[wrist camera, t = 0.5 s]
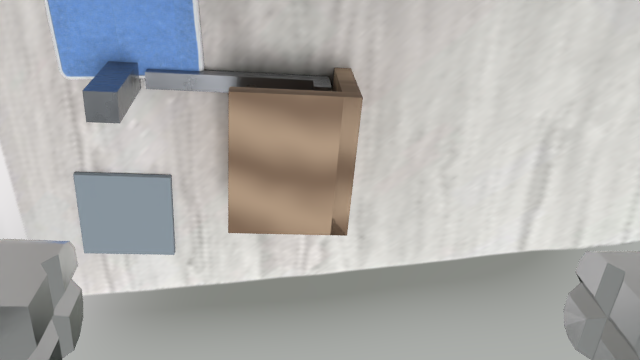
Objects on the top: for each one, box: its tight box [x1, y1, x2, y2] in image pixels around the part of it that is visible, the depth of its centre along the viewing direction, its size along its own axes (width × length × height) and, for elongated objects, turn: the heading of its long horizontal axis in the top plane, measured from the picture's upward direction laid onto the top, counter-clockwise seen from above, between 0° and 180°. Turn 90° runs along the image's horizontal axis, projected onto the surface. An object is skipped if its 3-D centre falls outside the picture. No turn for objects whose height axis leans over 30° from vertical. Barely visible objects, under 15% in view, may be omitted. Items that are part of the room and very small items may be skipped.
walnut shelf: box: [228, 68, 363, 235], centre depth 51 cm, size 13×10×8 cm
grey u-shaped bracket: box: [83, 61, 332, 123], centre depth 50 cm, size 12×19×8 cm, turn 86°
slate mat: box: [73, 172, 175, 255], centre depth 57 cm, size 9×9×1 cm
